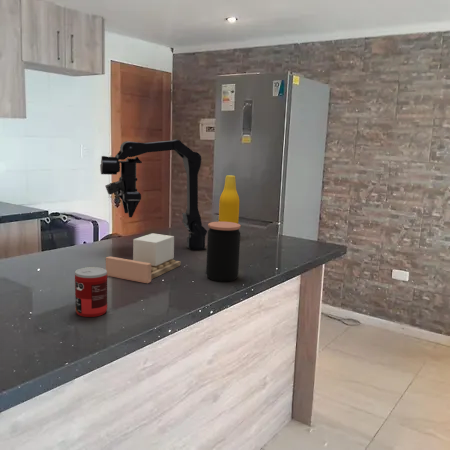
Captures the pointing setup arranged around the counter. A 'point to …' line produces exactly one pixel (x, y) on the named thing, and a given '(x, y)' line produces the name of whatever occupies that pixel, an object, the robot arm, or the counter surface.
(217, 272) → the coffee jar
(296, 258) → the counter surface
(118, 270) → the brick stop
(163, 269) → the roller bed
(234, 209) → the beer bottle
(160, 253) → the white box on pallet
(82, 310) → the canned food
